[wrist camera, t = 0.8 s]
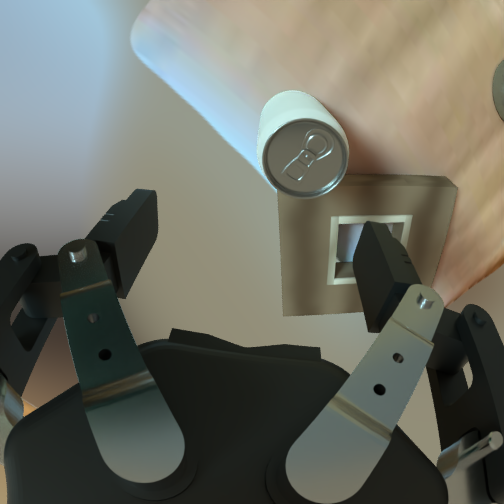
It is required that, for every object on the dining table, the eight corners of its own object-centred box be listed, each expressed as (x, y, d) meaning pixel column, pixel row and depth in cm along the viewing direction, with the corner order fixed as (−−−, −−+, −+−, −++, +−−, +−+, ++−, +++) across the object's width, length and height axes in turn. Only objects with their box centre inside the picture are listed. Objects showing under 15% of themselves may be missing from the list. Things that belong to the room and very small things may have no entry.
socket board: (445, 176, 31) (458, 188, 28) (417, 291, 41) (424, 307, 39) (276, 176, 33) (277, 189, 30) (282, 300, 43) (282, 317, 41)
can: (338, 115, 28) (374, 152, 19) (300, 162, 32) (313, 221, 22) (285, 76, 27) (294, 91, 17) (247, 128, 30) (235, 171, 20)
